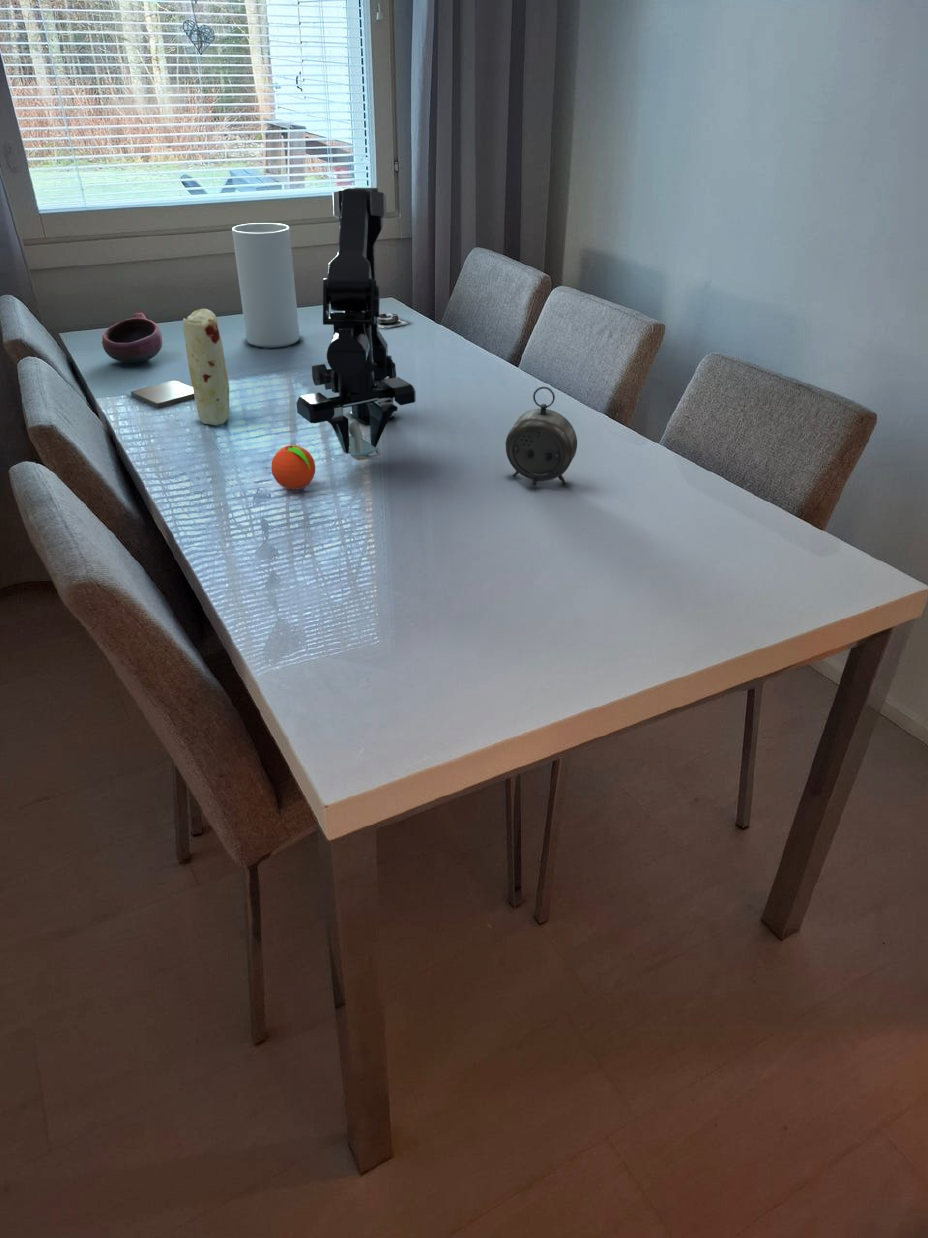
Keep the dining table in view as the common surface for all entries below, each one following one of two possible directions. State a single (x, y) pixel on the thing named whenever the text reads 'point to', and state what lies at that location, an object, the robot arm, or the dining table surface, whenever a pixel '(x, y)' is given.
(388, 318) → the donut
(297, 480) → the clementine
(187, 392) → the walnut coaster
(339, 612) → the dining table surface
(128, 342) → the bowl
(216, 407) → the food model
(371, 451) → the pacifier
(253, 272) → the cylinder vase
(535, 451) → the alarm clock
